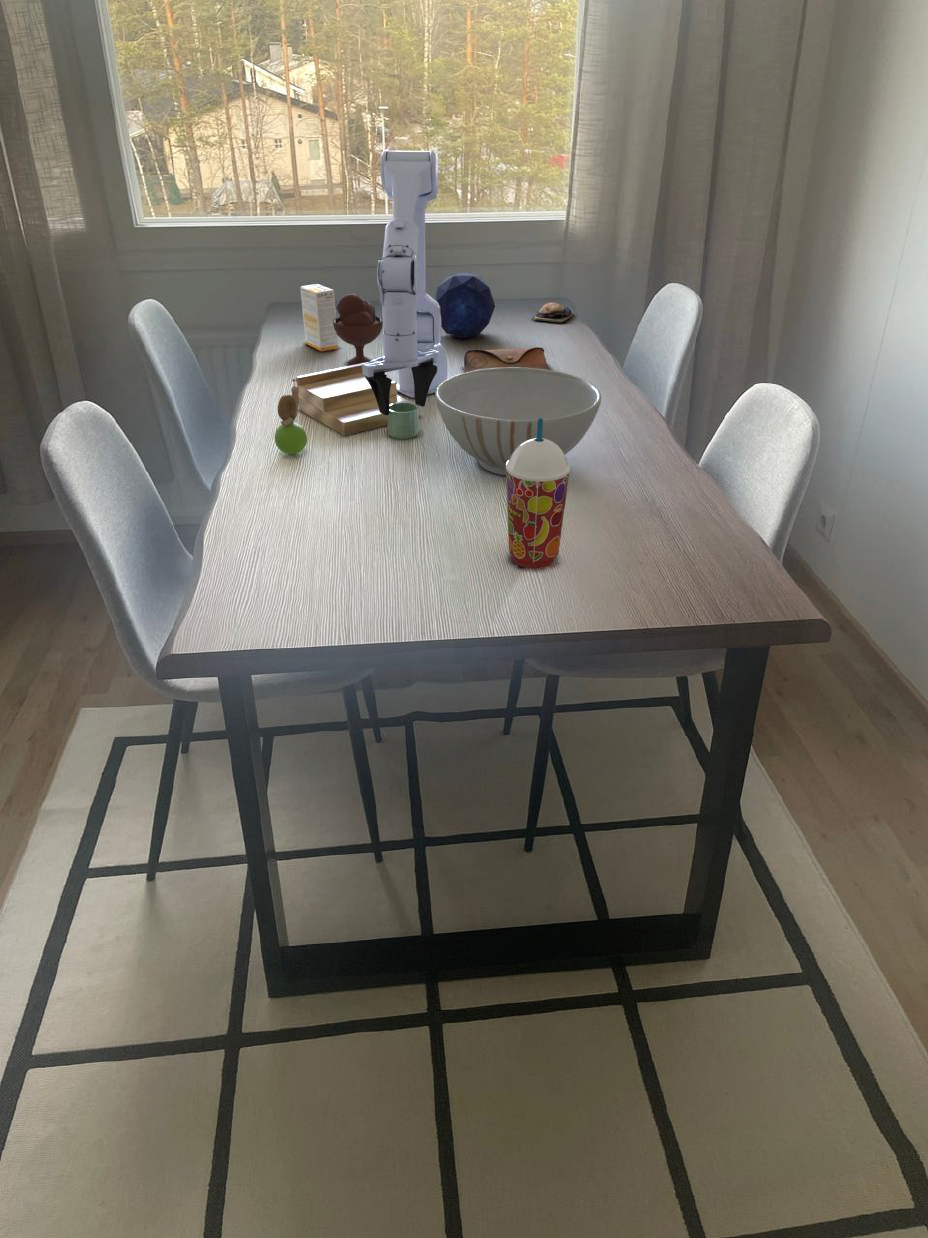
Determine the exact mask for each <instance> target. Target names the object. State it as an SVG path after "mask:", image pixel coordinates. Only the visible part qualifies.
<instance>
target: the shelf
mask: <svg viewBox="0 0 928 1238" xmlns="http://www.w3.org/2000/svg"><path fill="white" fill-rule="evenodd" d="M366 363H367V362H366ZM296 379H298V380H299V381H298V388H299V393H298V396H299V407H298V411H301V412H302V413H304V414H305V415H307V416H309V417H311V418H313V419H314V420H316V421H318V422H320V423H321V424H322V425H324V426H327V427H328V428H330V429H332V430H334V431H335V432H337V433H339V434H340V435H342V436H344V437H345V436H350V435H355V434H357V433H358V434H359V433H362V432H365V431H371V430H373V429H374V430H375V429H378V428H381V427H385V426H388V423H387V415H384V414H382V413H380V411H379V407H378V403H377V400H376V397H375V395H374V392H373V390H372V388H371V386H370V384H369V383H368V381H367V380H366V378H365V375H363V371H362V363H361V364H356V365H351V366H348V365H345V366H342V367H337V368H332V369H326V370H322V371H318V372H317V371H316V372H312V373H308V374H307V373H306V374H303V375H298V376H295V380H296ZM391 380H392V383H391V387H390V396H389V402H390V404H393V403H399V402H408V403H413V404H416V403H415V402H413V401H411V400H408V399H406V398H405V397H402V396H400V395H398V391H397V384H398V383H397V381H395V380H393V379H391ZM416 405H417V404H416ZM417 406H418V407H419V405H417Z"/></svg>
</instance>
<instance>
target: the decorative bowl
mask: <svg viewBox="0 0 928 1238" xmlns="http://www.w3.org/2000/svg"><path fill="white" fill-rule="evenodd" d="M434 397H435V402H436V405H437V409H438V411H439V414H440V417H441V419H442V421H443V423H444V425H445V427H446V429H447V431H448V432H449V434H450V436H451V437H452V438H453V439H454V441H455V442H456V443H457V444H458V446H459V447H460V448H462V449H463V450H464V451H465V452H466V453H467V454H468V455H470V456H471V457H473V458H474V459H476V460H478V463H479V466H481V468H483V469H485V471H488V472H490V473H493V474H496V475H501V476H506V466H505V465H506V463H507V461H508V460H509V459H510V458H511V456H512V454H513V452H514V450H515V449H516V448H517V447H518V446H519V445H520V444H521V443H523V442H525V441H526V440H529V439H533V438H537V425H538V418H542V419H543V429H542V438H544V439H548V440H550V441H552V442H554V443H555V444H557V445H558V446H559V447H560V448H561V450H562V451H563V453H564V455H565V456H566V455H568V453H570V452H571V451H572V450H573V449H574V448H575V447H576V446H577V445H578V444H579V443H580V442H581V440H582V439H583V438H584V437H585V435H586V434H587V432H588V431H589V429H590V428H591V426H592V425H593V423H594V421H595V418H596V416H597V413H598V412H599V409H600V407H601V403H602V393H601V391H600V389H599V388H598V387H597V386H596V385H594V384H593V383H591V382H590V381H588V380H586V379H584V378H582V377H580V376H576V375H574V374H570V373H567V372H562V371H558V370H552V369H549V370H546V369H537V368H521V367H505V368H490V369H482V370H475V371H470V372H466V371H465V372H462V373H459V374H456V375H454V376H451V377H449V378H447V380H445V381H444V382H442V383H441V384H440V385H439V386H438V387H437V389H436V392H435V393H434Z"/></svg>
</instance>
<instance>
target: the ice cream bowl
mask: <svg viewBox="0 0 928 1238" xmlns="http://www.w3.org/2000/svg"><path fill="white" fill-rule="evenodd" d="M335 309H336V310H337V313H338V315H339V316H336V318H334V319H333V326H334V329H335V331H336V333H337V337H338V338H340V340H342V341H343V342H345V343H347V344H349V345H352V346H354V349H355V355H354V357H352V358H350V359H349V360H348V362H347V366H351V365H356V364H361V363H366V362H370V361H373V360H372V359H370V358H369V357H368V356H366V355H365V353H364V348H365V346H366V345H368V344H371V343H372V342H373V341H375V340H376V339H377V338H378V337H379V336H380V334H381V332H382V331H383V316H379V315H376V313H377V312H376V307H375V306H374V305H373V304H372V303H370V302H369V301H368V300H366V299H364V298H363V297H361V295H359V294H358V293H347V294H344V295H343V296H342V297H341V298H340V299H338V301H337V305H336V306H335Z"/></svg>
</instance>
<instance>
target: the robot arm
mask: <svg viewBox="0 0 928 1238" xmlns="http://www.w3.org/2000/svg"><path fill="white" fill-rule="evenodd" d="M379 163H380V165H379V166H380V167H379V169H380V171H379V173H380V181H381V182H380V183H381V185H382V187H383V189H384V193H386V196H387V198H388V199H391V200H392V219H391V220H390V221H389V222H388V223H387V224H386V225H385V227H384V228H385V229H384V239H383V247H382V248H383V249H382V257H381V260H380V259H379V260H378V261H377V262H378V263H377V266H376V267H377V268H376V281H377V288H378V292H379V303H380V305H381V306H382V307H381V309H382V310H381V311H382V313H381V314H382V318H383V325H382V333H383V355H382V356H380V357H378V358H376V359H373V360H372V361H370V362H367V363H362V371H363V375H365V378H366V380H367V381H368V383H369V384H370V386H371V388H372V390H373V392H374V395H375V397H376V400H377V403H378V407H379V411H380V413H382V414H384V415H389V412H390V402H389V396H390V387H391V383H392V380H393V379H391V378H389V377H388V374H386V373H390V372H395V371H398V383H397V393H400V394H403V395H404V396H407V397H409V398H412V399H413V398H414V403H415V404H417V405H418V407H421V408H424V407H425V406H426V402H427V398H428V395H431V394H435V392H436V389H437V387H438V386H439V385H440V384H441V383H442V382H444V381H445V380H447V379H448V354H447V351H446V349H445V347H444V345H443V344H442V343H440V342H441V341H442V327H441V314H440V306H439V303H438V302H437V301H436V300H434V298H433V297H432V296H430V295H429V294H428V293H427V270H426V267H427V264H426V263H427V261H426V260H427V259H426V258H427V257H426V211H427V210H426V209H427V206H428V203H429V202H430V201H432V200H435V199H437V197H438V193H439V155H438V154H437V152H436V150H433V149H431V150H388V149H384V150H383V151H382V153H381V154H380V162H379Z"/></svg>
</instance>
